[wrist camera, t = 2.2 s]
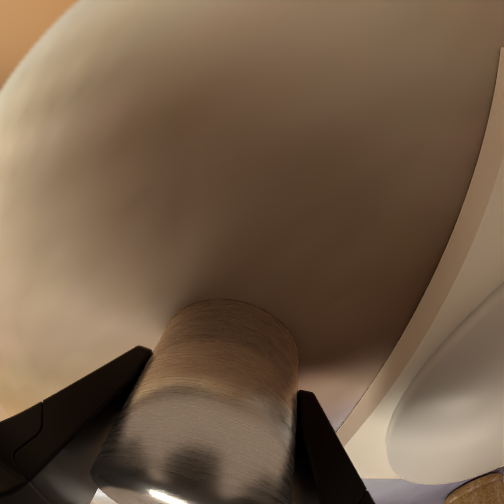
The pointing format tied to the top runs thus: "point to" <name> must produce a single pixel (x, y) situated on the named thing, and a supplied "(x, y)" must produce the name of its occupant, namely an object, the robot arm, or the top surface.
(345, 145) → the top surface
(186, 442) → the cylinder
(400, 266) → the top surface
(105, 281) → the top surface
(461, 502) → the sprinkles bottle
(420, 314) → the scale
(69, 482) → the robot arm
